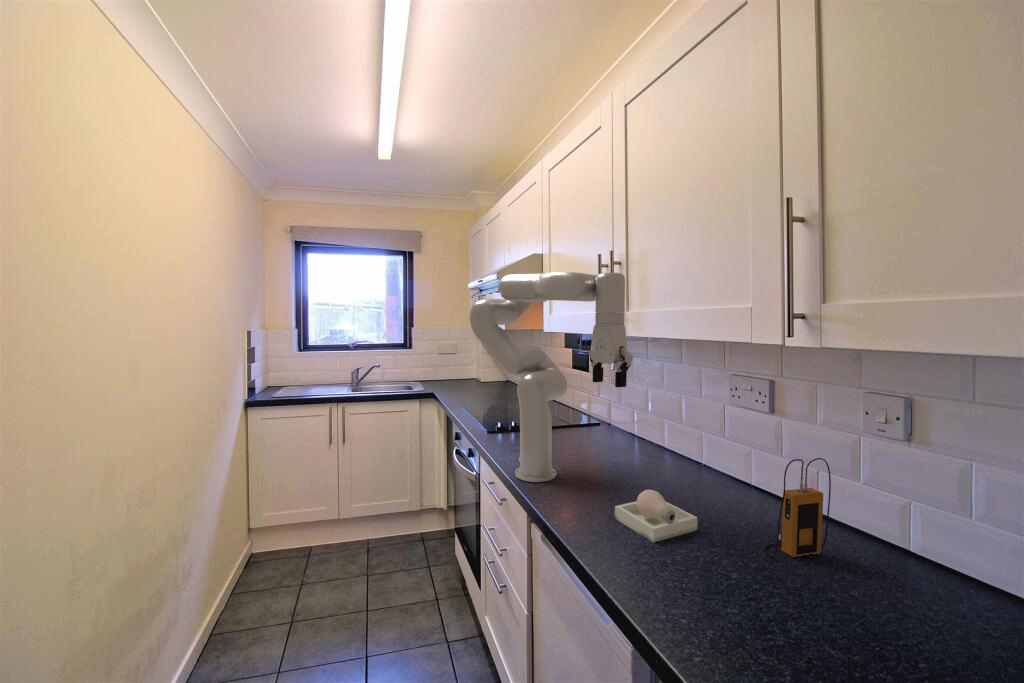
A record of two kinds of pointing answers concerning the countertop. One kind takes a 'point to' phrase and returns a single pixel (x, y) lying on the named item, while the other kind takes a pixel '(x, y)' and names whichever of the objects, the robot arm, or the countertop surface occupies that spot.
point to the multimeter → (802, 518)
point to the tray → (656, 522)
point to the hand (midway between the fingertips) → (608, 384)
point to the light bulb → (654, 506)
